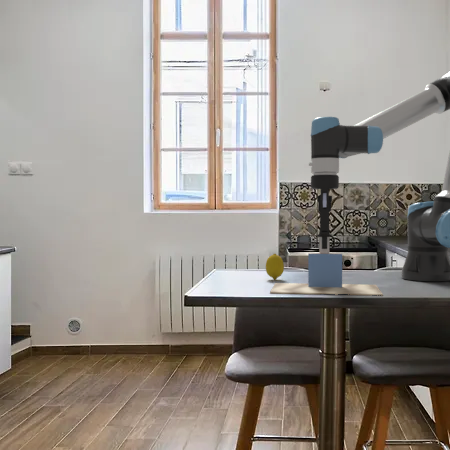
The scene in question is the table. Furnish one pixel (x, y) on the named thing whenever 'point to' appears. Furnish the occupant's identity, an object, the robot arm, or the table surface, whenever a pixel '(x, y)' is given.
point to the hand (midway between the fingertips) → (324, 260)
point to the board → (325, 289)
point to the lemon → (274, 266)
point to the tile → (324, 270)
